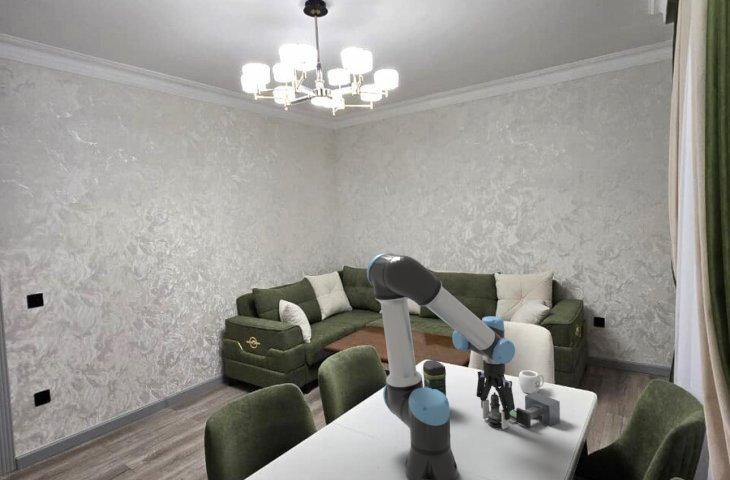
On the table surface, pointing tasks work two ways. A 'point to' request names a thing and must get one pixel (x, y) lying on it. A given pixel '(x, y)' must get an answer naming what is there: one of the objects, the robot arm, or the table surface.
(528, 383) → the mug
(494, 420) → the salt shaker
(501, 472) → the table surface
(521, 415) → the plunger
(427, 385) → the coffee jar
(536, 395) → the gauge
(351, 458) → the table surface
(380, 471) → the table surface
